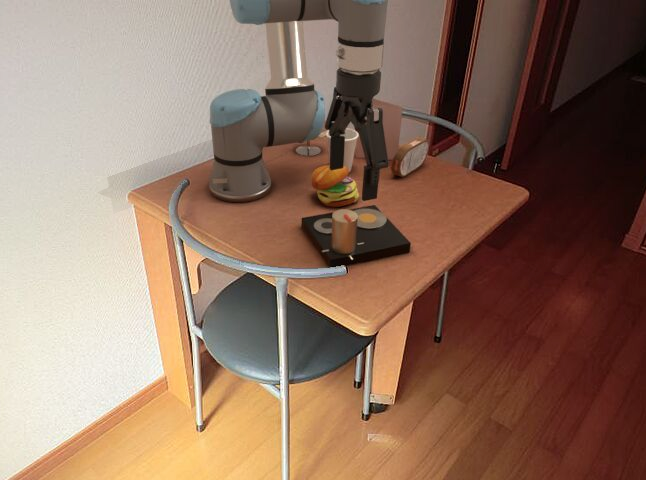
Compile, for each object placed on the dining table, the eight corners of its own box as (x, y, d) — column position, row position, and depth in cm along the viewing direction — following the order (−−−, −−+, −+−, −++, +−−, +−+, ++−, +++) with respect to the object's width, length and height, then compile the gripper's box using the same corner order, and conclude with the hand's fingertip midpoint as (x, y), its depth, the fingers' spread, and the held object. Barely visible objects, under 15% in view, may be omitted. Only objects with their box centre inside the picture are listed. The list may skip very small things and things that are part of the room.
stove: (298, 227, 123) (298, 217, 122) (373, 214, 129) (374, 204, 127) (330, 274, 109) (330, 263, 108) (413, 256, 115) (414, 246, 113)
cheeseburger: (356, 211, 129) (348, 173, 124) (313, 216, 132) (303, 178, 127) (362, 191, 137) (355, 154, 132) (321, 195, 140) (312, 159, 135)
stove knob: (327, 243, 114) (328, 210, 109) (349, 239, 115) (351, 206, 111) (336, 256, 110) (338, 222, 105) (359, 251, 111) (362, 218, 107)
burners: (307, 219, 121) (307, 218, 121) (376, 207, 126) (376, 205, 126) (321, 239, 115) (321, 237, 115) (393, 225, 120) (393, 223, 120)
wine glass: (327, 149, 158) (329, 97, 150) (312, 158, 153) (313, 105, 144) (304, 142, 162) (304, 91, 153) (288, 151, 156) (288, 99, 148)
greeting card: (398, 159, 154) (404, 106, 145) (383, 167, 149) (388, 113, 141) (366, 147, 160) (369, 96, 151) (350, 155, 155) (353, 102, 147)
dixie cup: (361, 166, 150) (363, 131, 144) (347, 178, 143) (350, 142, 138) (333, 159, 153) (334, 125, 147) (319, 171, 147) (320, 135, 141)
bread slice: (418, 160, 154) (422, 131, 149) (428, 163, 152) (432, 134, 147) (388, 178, 144) (391, 148, 139) (398, 182, 142) (402, 151, 137)
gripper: (308, 52, 100) (307, 160, 113) (375, 93, 82) (365, 217, 94) (345, 48, 103) (340, 154, 115) (418, 88, 85) (403, 209, 97)
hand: (352, 183), depth 105 cm, fingers open, 13 cm apart
